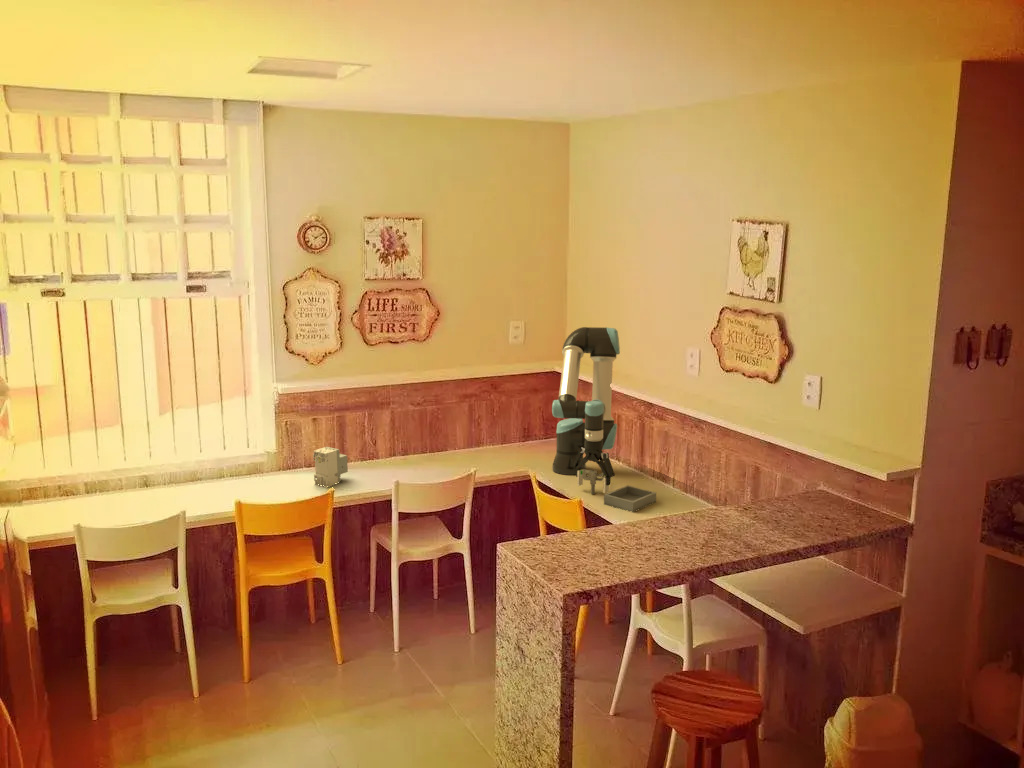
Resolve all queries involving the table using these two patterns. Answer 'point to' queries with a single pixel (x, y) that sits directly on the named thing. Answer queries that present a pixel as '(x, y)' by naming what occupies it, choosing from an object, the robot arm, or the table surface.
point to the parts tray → (630, 498)
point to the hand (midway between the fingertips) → (592, 488)
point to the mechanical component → (592, 478)
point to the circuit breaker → (329, 466)
